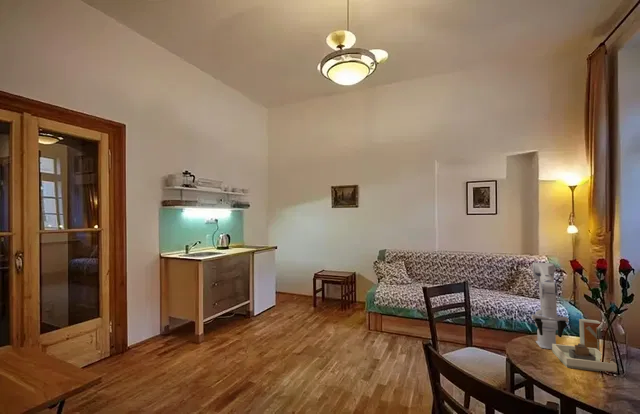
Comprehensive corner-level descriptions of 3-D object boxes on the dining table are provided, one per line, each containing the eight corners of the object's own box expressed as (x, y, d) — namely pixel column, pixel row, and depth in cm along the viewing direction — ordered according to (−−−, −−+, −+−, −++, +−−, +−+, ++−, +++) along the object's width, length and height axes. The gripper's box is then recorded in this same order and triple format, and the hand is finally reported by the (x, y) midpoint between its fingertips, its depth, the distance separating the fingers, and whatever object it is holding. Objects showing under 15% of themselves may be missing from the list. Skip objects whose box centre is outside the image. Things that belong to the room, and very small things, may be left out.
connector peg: (575, 357, 150) (574, 342, 150) (585, 358, 148) (584, 343, 149) (578, 360, 146) (578, 345, 146) (589, 362, 145) (588, 346, 145)
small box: (584, 347, 164) (583, 322, 165) (579, 343, 170) (578, 318, 171) (604, 349, 161) (603, 323, 162) (598, 345, 167) (597, 320, 168)
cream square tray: (552, 351, 159) (552, 343, 159) (596, 356, 153) (596, 348, 153) (566, 367, 142) (566, 358, 142) (617, 373, 136) (616, 364, 136)
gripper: (534, 307, 152) (535, 336, 151) (570, 310, 147) (571, 340, 146) (530, 304, 158) (530, 331, 158) (564, 306, 154) (565, 335, 153)
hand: (550, 335), depth 153 cm, fingers open, 7 cm apart
